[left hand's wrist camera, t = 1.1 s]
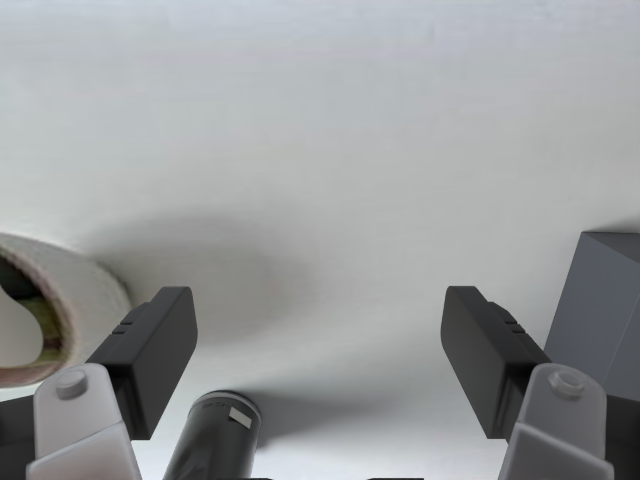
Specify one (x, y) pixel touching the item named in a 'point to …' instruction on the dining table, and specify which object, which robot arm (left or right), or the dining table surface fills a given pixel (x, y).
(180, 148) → the dining table surface
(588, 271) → the box
